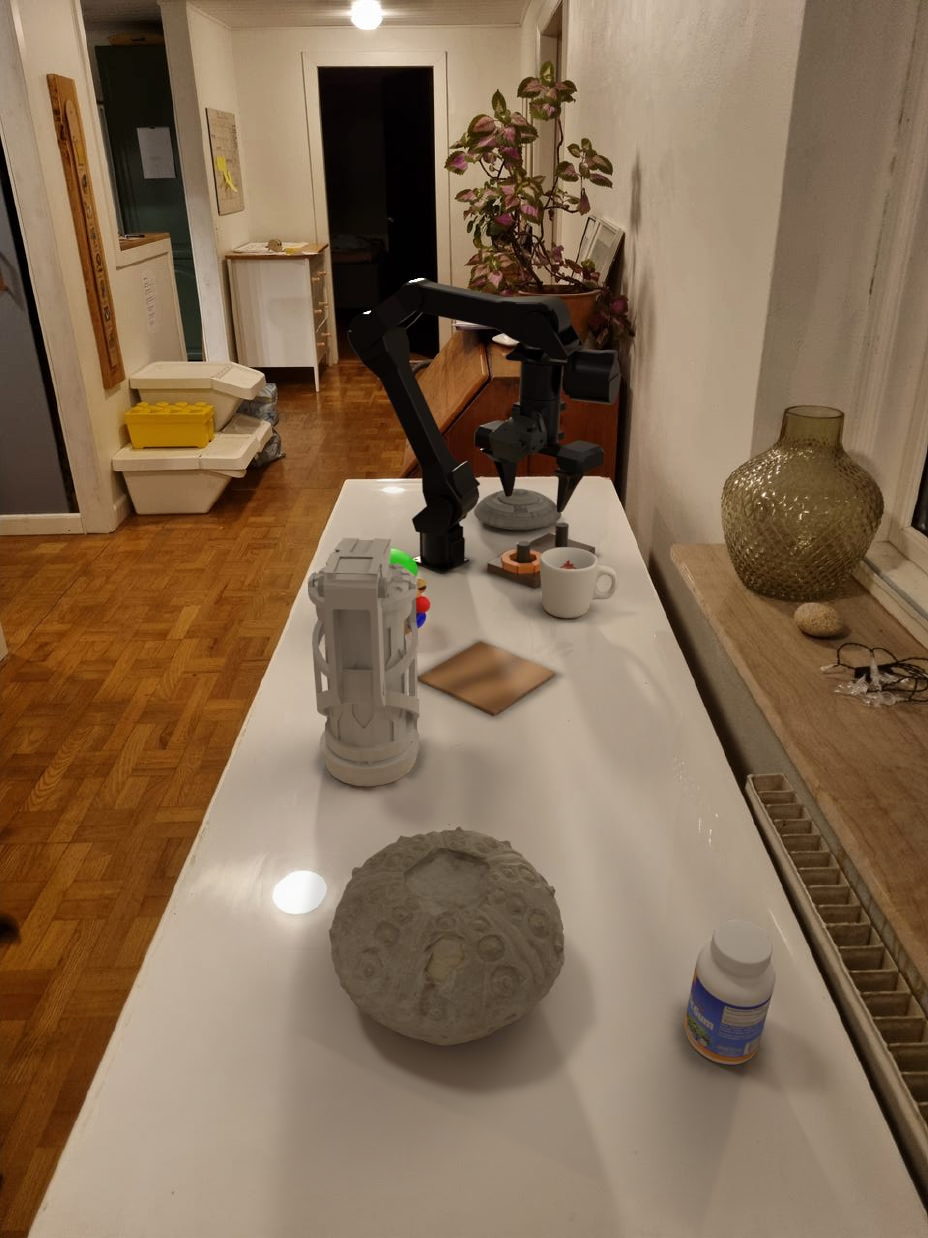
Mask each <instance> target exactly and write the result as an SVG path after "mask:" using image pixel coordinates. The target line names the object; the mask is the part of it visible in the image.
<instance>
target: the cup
mask: <svg viewBox="0 0 928 1238" xmlns="http://www.w3.org/2000/svg"><path fill="white" fill-rule="evenodd" d="M602 576H608V577H610V580H611V584H610V586H609V588H608V589H607V590H606V591H602V590H600V589H598V586H597V584H598V581H599V579H600V578H601V577H602ZM540 577H541V585H540V591H541V592H540V593H541V603H542V607H543V609H544V610H545V612H546V613H547V614H550V615H551V616H554V617H556V618H562V619H574V618H578V617H581V616H583V615H585V614H586V613H587V612H588V611H589V609H590V606H591V603H592V602H593V601H595V600H608V599H610V598H612V597H613V596H614V595H615V593H616V591H617V590H618V589H617V588H618V584H619V583H618V582H619V581H618V574H617V573H616V570H615V569H613V568H611V567H609V566H606V565H601V564H600V563H599V558H598V557H597V556H596V554H595V555H594V554H593V553H591V552H589V551H586V550H583V549H579V548H571V547H560V548H553V549H550V550H547V551H545V552H544V553H543V554H542V555H541V556H540Z"/></svg>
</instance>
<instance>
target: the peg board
mask: <svg viewBox="0 0 928 1238" xmlns="http://www.w3.org/2000/svg"><path fill="white" fill-rule="evenodd" d="M554 532H555V533H551V532H547V533H546V534H544V535H541V536H540V537H537V538H536V539H534V540H531V541H527V540H519V541H517V543H516V549H517V557H516V559H515V560H513V561H514V562H517V563H532V562H534V561H531V560H530V550H533V551H536V552H539V553H542V554H543V553H544V552H545V551H547V550H550V549H553V548H560V547H571V548H579V549H583V550H586V551H589V552H591V553H593V554H594V555H595V556H596V547H595V546H592V545H590V544H587V543H582V542H580V541H577V540H574V539H571V538H570V539H569V523H567V522H561V521H560V522H557V523H556V524H555V531H554ZM486 572H487V573H489V574H491V575H495V576H497V577H500V578H504V579H507V580H509V581H512V582H515V583H517V584H520V585H523V586H526V587H530V588H532V589H537V588H539V587H541V577H540V571H538V572H536V573H534V572H533V573H525V574H518V572H517V573H514V572H511V571H508V570H505V569H504V568H503V567H502V564H501V555H500V556H498V557H496V558H493V559H492V560H490V561H488V562H487V563H486Z"/></svg>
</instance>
